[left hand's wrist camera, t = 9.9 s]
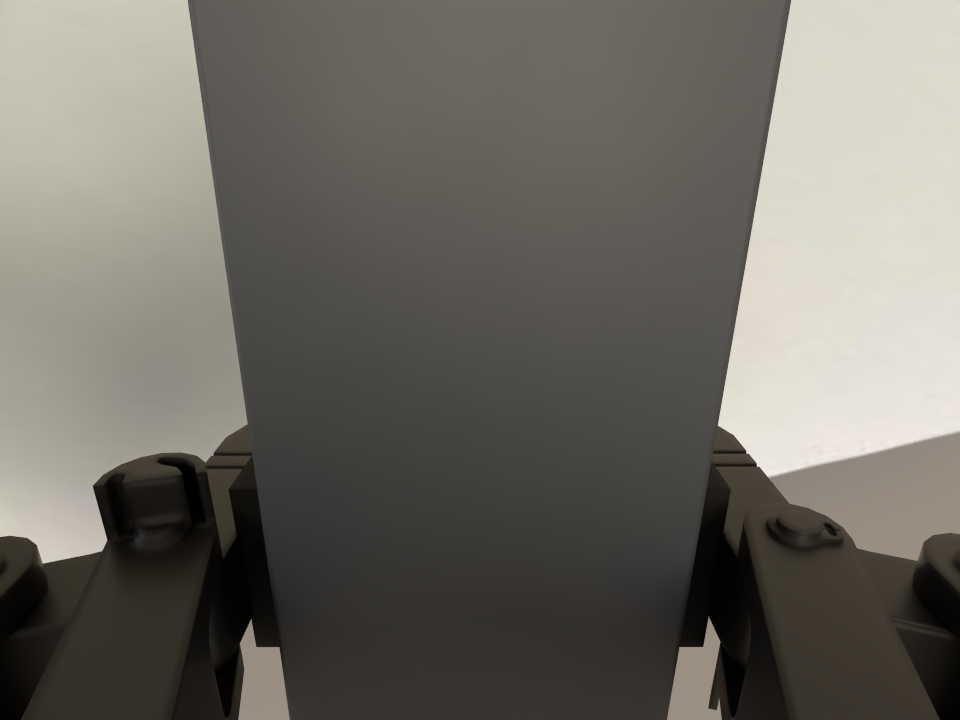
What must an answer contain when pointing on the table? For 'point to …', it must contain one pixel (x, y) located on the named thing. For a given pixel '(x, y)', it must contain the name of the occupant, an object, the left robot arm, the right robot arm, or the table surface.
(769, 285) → the table surface
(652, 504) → the beam
